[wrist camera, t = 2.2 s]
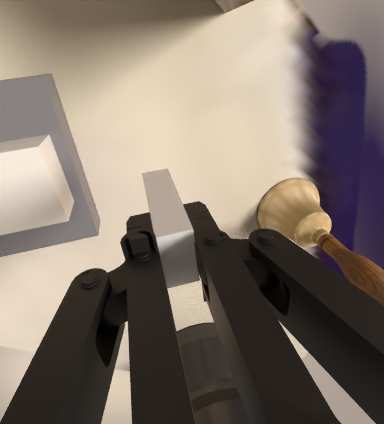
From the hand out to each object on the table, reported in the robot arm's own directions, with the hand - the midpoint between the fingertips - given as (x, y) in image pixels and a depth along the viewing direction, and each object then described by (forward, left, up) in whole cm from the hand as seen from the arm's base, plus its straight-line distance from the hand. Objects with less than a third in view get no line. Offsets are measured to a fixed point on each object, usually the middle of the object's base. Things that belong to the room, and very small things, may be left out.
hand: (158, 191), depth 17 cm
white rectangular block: (0, +12, -9) cm, 15 cm away
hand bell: (-11, -16, -12) cm, 23 cm away
